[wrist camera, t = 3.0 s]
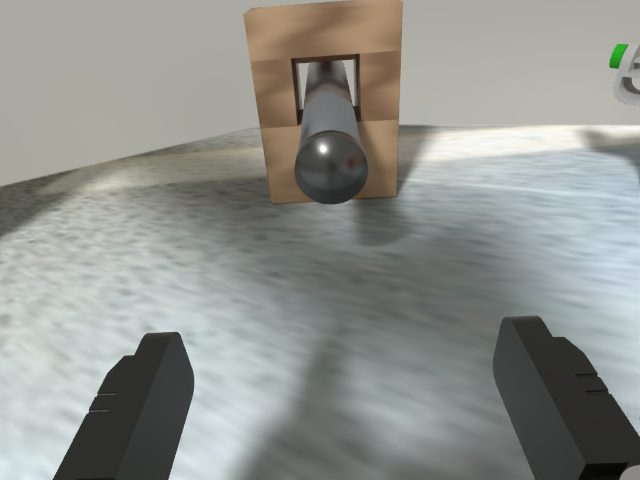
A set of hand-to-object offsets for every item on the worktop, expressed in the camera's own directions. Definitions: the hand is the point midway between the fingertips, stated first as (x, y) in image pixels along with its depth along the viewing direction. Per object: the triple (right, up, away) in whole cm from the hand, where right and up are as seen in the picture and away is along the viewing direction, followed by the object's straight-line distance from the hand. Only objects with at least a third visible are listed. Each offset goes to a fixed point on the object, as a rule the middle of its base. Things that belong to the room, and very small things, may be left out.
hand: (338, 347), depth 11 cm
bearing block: (+1, +7, +25) cm, 26 cm away
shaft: (0, +10, +19) cm, 21 cm away
